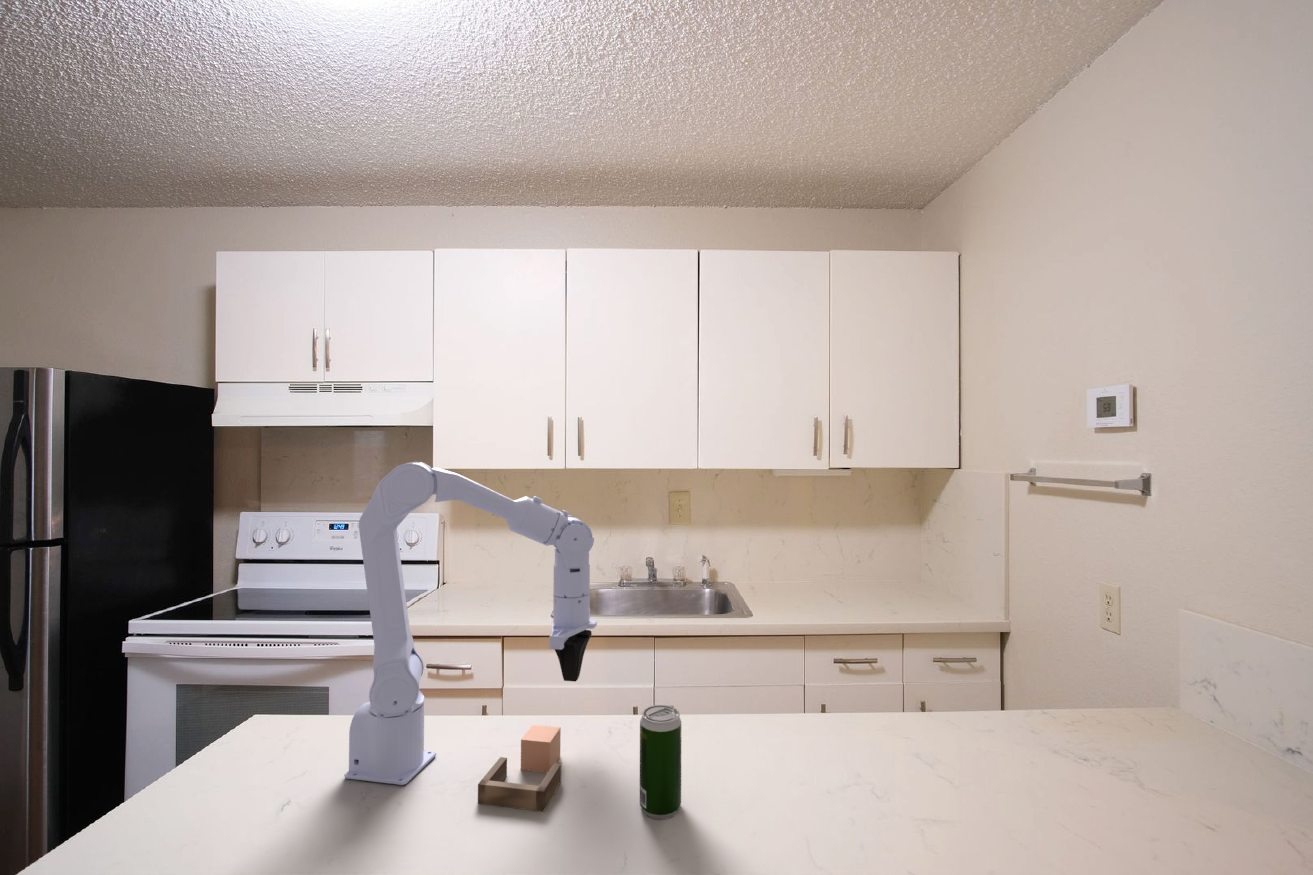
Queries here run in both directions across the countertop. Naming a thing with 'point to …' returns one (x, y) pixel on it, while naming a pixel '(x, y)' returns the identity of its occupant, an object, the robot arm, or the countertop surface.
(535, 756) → the terracotta block
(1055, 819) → the countertop surface
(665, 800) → the beer can
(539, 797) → the walnut bay
